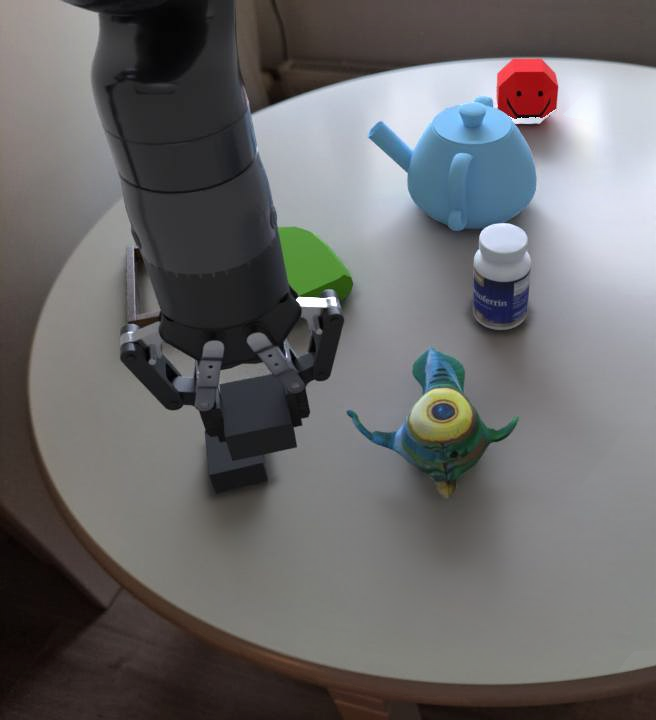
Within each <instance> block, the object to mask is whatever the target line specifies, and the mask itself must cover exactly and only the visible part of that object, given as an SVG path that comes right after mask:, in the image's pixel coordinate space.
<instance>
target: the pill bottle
mask: <svg viewBox="0 0 656 720" xmlns="http://www.w3.org/2000/svg"><path fill="white" fill-rule="evenodd" d="M528 241H529V240H528V235H527V233H526V232H525V230H524V229H522V228H521V227H519V226H517V225H515V224H511V223H506V222H504V223H499V224H493V225H490V226H488V227H486V228H482V231H481V232H480V234H479V236H478V250H476V253H475V254H474V258H473V265H472V266H473V267H472V269H473V272H472V273H473V275H472V276H473V277H472V278H473V279H472V314H473V317H474V319H475V320H476V322H478V323H479V324H480V325H482V326H483V327H485V328H486V329H491V330H495V331H508V330H512V329H514V328H517V327H518V326H520V325H521V324H523V322H524V321H525V320H526V317H527V314H528V307H529V296H530V284H531V273H532V272H531V271H532V259H531V256H530V254H529V253H528V243H529V242H528Z"/></svg>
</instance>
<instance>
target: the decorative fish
mask: <svg viewBox="0 0 656 720" xmlns="http://www.w3.org/2000/svg"><path fill="white" fill-rule="evenodd" d="M411 370H412V371H411V373H412V376H413V378H414V379H415V380H416V381H417V383H418V384H419V385H420V387H421V388H422V394H421V396H420V397H419V399H417V401H415V403H414V404H413V405H412V407H411V408H410V410H409V412H407V413H408V414H407V416H406V417H405V419H404V422H403V423H402V425H401V426H400V427H399V428H398V429H396V430H394V431H393V430H392V431H380V430H374V431H372V432H371V431H369V430H368V429H367V428H366V427H365V426H364V425H363V424H362V422H361V420H360V419H359V416H358V414H357V413H356V412H355V411H353V410H352V409H347V410H346V415H347V416H348V417H349V418H351V421H352V423H353V425H354V427H355V428H356V429H357V430H358V432H360V433H361V434H362V436H363V437H365V438H366V439H367V440H369V441H370V442H371V443H374V444H375V445H377V446H379V447H383V448H386V449H389V450H391V451H394V452H395V453H397V454H398V455H400V456H401V457H402V458H403V460H405V461H406V462H407V463H409V464H410V465H411V466H413V467H414V468H416V469H417V470H418V471H419V472H421V473H423V474H424V475H426V476H427V477H429V478H431V479H432V481H433V482H434V485H435V487H436V489H437V492H438V493H439V495H440V496H441V497H443V498H444V499H449V498H451V497H452V496H453V495H454V494H455V493H456V491H457V482H458V479H459V478H460V477H461V476H462V475H464V474H466V473H467V472H468V471H470V470H471V469H472V468H474V467H475V465H476V464H477V463H478V462H479V461H480V459H481V458H482V456H483V455H484V454H485V452H486V451H487V449H488V447H489V446H490V444H493V443H499V442H502V441H504V440H505V439H507V438H508V437H509V436H510V435H511V434H512V433H513V432H514V430H515V428H516V427H517V425H518V423H519V420H520V416H519V415H515V416H514V417H513V418H512V419H511V420H510V421H509V422H508V423H507V424H506V425H505V426H503V427H501V428H499V429H495V428H494V427H493V428H491V427H488V426H487V424H485V423H484V421H483V419H482V418H481V416H480V414H479V412H478V411H477V408H475V406H474V405H473V403H472V402H471V400H470V399H469V398H468V396H466V394H465V389H464V387H465V378H466V371H465V368H464V365H463V364H462V362H460V360H459V359H457V358H456V357H453V356H451V355H449V354H446V353H444V352H442V351H440V350H439V349H435V348H434V347H433V346H429V347H428V349H427V350H426V351H425V352H423V353H422V354H421V355H420V356H419V357H418V358H417V359H416V360H415V361H414V363H413V365H412V369H411Z"/></svg>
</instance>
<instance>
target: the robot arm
mask: <svg viewBox="0 0 656 720" xmlns="http://www.w3.org/2000/svg"><path fill="white" fill-rule="evenodd" d="M59 1H61V2H62V3H64V4H67V5H70V6H73V7H76V8H79V9H81V10H85V11H88V12H93V13H95V14H97V16H98V17H97V18H98V37H97V43H96V48H95V51H94V55H93V59H92V62H91V66H90V85H91V92H92V96H93V101H94V104H95V108H96V111H97V114H98V117H99V121H100V123H101V127H102V129H103V133H104V135H105V138H106V141H107V144H108V147H109V150H110V153H111V155H112V159H113V161H114V165H115V167H116V170H117V173H118V177H119V180H120V185H121V192H122V198H123V203H124V207H125V208H124V209H125V211H126V215H127V218H128V221H129V223H130V233H131V236H132V238H133V240H134V243H135V244H136V245H137V247H139V250H140V252H141V255H142V258H143V261H142V262H143V263H144V266H145V269H146V272H147V275H148V277H149V281H150V283H151V286H152V290H153V292H154V295H155V298H156V301H157V305H158V307H159V311H160V313H159V316H158V322H155V323H153V324H151V325H148V326H146V327H143V328H140V327H139V326H137V325H134V324H128V323H127V324H125V325H123V326H121V328H120V332H119V333H120V335H119V336H120V337H119V360H120V362H121V363H122V364H123V365H124V366H125V367H126V368H127V369H128V371H129V372H130V373H132V375H133V376H134V377H135V378H136V379H137V380H138V381H139V382H140V383H141V384H142V385H143V386H144V387H145V388H146V390H148V391H149V393H150V394H151V395H152V396H153V397H154V398H155V399H156V401H158V402H159V403H160V404H161V405H162V406H163V407H164V408H165V409H166V410H168V411H172V412H173V411H179V410H180V409H182V408H183V407H184V406H191V407H194V408H195V409H196V410H198V412H199V415H200V418H201V419H200V420H201V421H202V425H203V426H204V431H205V430H206V433H207V434H208V435H209V436H210V437H216V436H218V439H219V442H220V443H222V442H226V440H225V435H224V425H223V422H224V417H223V407H222V398H221V394H220V387H219V385H220V383H219V382H220V378H221V377H220V376H221V371H226V370H230V369H231V370H232V369H233V368H235V367H238V366H241V365H257V364H264V366H265V367H266V368H267V370H268V371H269V372H270V374H273V376H274V377H278V378H279V380H280V381H281V382H282V384H283V385H284V390H285V395H286V400H287V404H288V408H289V410H290V414H291V419H292V423H293V427H294V428H298V427H303V420H302V419H307V418H309V416H310V414H311V409H310V404H309V403H310V402H309V399H308V394H307V386H308V384H310V383H311V382H312V381H316V382H326V381H327V380H329V379H330V377H331V375H332V371H333V368H334V363H335V360H336V356H337V351H338V349H339V348H338V347H339V344H340V340H341V336H342V332H343V328H344V323H345V317H344V313H343V309H342V306H341V301H339V298H338V294H337V292H336V291H334V290H325V291H323V292H322V293H321V294H320V296H319V298H306V297H299V296H298V294H297V292H296V291H295V290H294V289H293V288H292V287H291V286H290V285H289V283H288V278H287V273H286V268H285V263H284V257H283V252H282V247H281V242H280V236H279V231H278V227H279V226H278V214H277V210H276V207H275V205H274V200H273V194H272V190H271V186H270V182H269V178H268V175H267V172H266V169H265V166H264V164H263V160H262V158H261V156H260V152H259V148H258V143H257V138H256V137H257V136H256V133H255V127H254V123H253V117H252V112H251V107H250V102H249V96H248V94H247V89H246V84H245V81H244V77H243V74H242V70H241V66H240V59H239V47H238V36H237V32H238V31H237V5H236V2H237V1H236V0H59ZM300 317H301V319H304V320H306V322H307V328H308V329H309V331H311V332H310V337H309V341H308V347H307V350H306V353H304V354H302V355H299V356H298V355H297V354H296V352H295V350H294V349H293V348H292V346H291V344H290V343H289V340H288V337H289V335H290V334H291V333H292V331H293V330H294V328H295V327H296V325H297V323H299V321H300ZM164 343H166V344H167V345H169V346H170V347H173V348H174V349H176V350H178V351H179V352H181V353H182V354H185V355H186V356H188V357H190V359H193V360H194V366H193V375H192V376H183V375H182V374H181V372H179V370H177V368H176V366H174V365H173V363H172V362H171V361H170V360H169V359H168V358H167V356H166V355H164V351H163V350H164V349H163V348H164V347H163V344H164Z"/></svg>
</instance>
